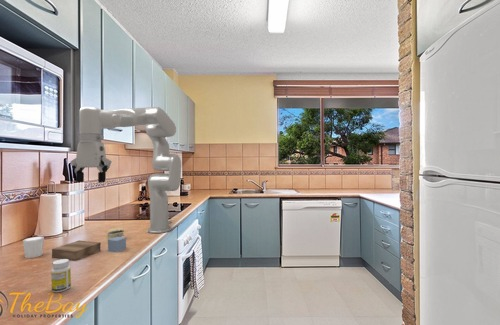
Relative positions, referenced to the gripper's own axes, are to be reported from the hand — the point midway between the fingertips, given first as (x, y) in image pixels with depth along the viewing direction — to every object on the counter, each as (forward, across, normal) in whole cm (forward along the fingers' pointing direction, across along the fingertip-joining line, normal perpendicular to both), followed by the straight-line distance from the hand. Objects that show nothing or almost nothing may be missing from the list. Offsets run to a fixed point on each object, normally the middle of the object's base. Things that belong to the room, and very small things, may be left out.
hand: (90, 182), depth 106 cm
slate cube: (+30, -3, -11) cm, 32 cm away
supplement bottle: (+31, -10, +24) cm, 40 cm away
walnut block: (+31, +10, -4) cm, 32 cm away
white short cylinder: (+31, +26, 0) cm, 40 cm away
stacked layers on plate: (+31, +7, -25) cm, 40 cm away
